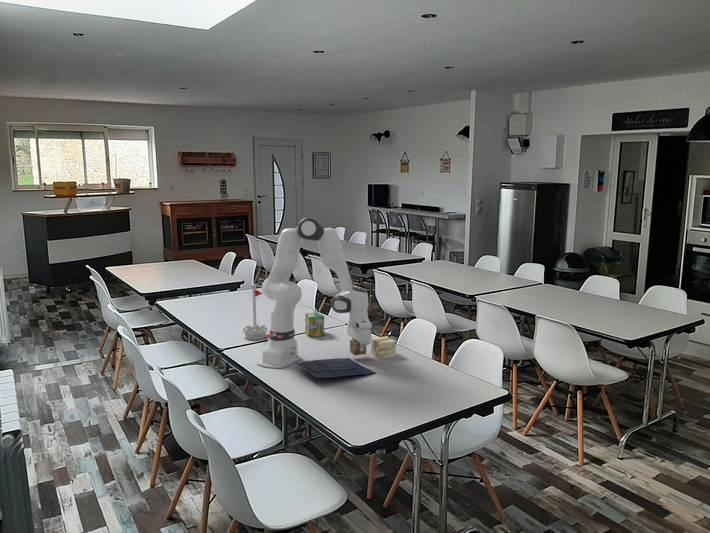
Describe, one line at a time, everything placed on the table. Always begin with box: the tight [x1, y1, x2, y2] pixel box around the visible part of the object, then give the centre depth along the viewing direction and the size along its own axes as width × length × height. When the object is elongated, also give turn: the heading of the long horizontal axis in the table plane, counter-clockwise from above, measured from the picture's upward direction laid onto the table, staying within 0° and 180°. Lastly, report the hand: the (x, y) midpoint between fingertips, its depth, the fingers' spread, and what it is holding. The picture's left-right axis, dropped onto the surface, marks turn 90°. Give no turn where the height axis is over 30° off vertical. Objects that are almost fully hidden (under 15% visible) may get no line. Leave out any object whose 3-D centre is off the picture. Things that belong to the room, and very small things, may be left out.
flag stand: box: [242, 283, 268, 340], centre depth 292 cm, size 13×13×30 cm
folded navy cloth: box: [294, 357, 377, 379], centre depth 241 cm, size 24×30×4 cm
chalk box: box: [304, 308, 325, 338], centre depth 297 cm, size 9×9×15 cm
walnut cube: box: [349, 339, 367, 356], centre depth 258 cm, size 6×6×6 cm
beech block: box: [370, 335, 397, 360], centre depth 264 cm, size 9×9×8 cm
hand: (358, 348), depth 258 cm, fingers closed on walnut cube, 6 cm apart
